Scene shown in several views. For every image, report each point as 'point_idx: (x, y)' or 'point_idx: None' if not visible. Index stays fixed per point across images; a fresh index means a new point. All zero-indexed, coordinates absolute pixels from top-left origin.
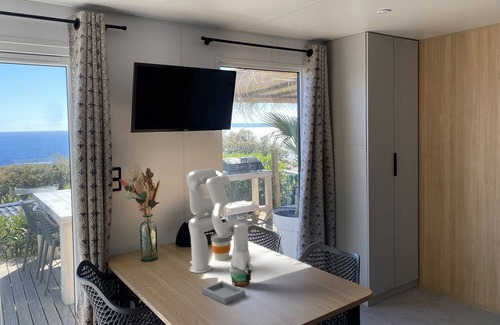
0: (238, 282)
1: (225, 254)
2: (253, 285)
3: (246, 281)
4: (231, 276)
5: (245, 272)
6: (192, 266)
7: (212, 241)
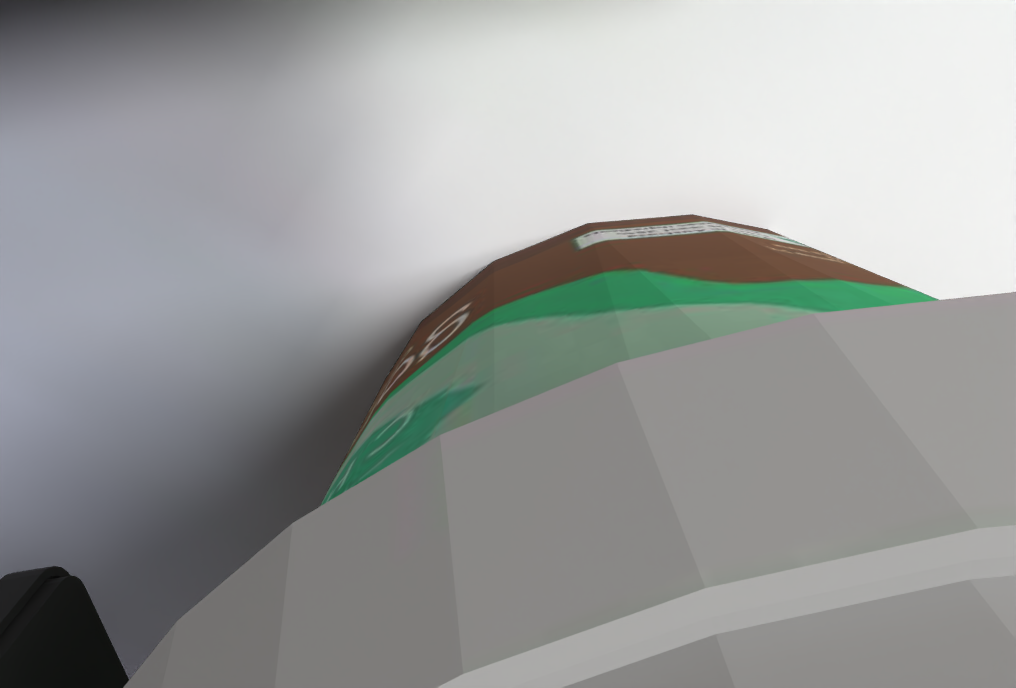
0: (420, 353)
1: None
2: None
3: (12, 575)
4: (899, 293)
5: None
6: None
7: None
